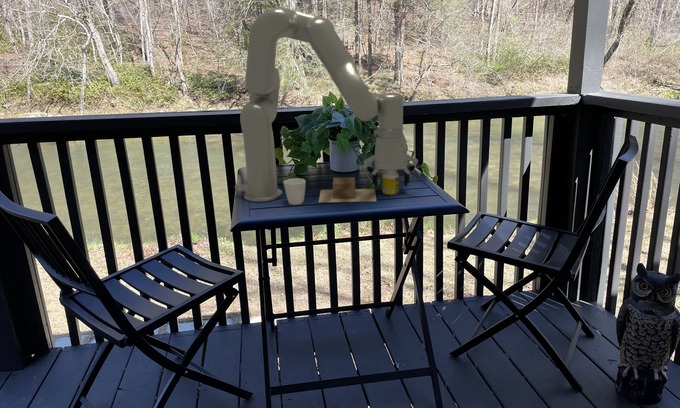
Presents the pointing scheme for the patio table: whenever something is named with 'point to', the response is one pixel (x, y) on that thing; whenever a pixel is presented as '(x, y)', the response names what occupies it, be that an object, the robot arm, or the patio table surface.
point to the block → (344, 188)
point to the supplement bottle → (390, 182)
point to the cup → (295, 190)
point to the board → (360, 196)
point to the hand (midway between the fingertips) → (390, 185)
